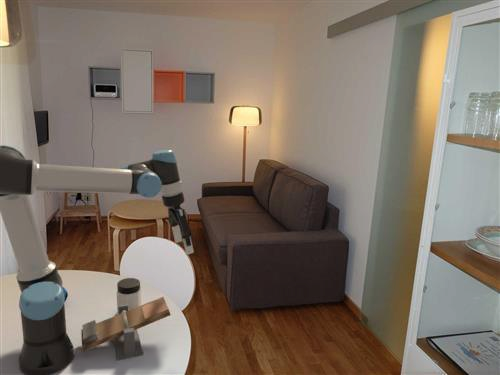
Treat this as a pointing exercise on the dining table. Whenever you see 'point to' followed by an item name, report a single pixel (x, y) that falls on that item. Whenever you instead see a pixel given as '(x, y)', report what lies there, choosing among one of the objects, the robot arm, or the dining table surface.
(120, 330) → the beam
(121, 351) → the pivot stand
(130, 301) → the jar
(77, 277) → the dining table surface
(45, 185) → the robot arm
